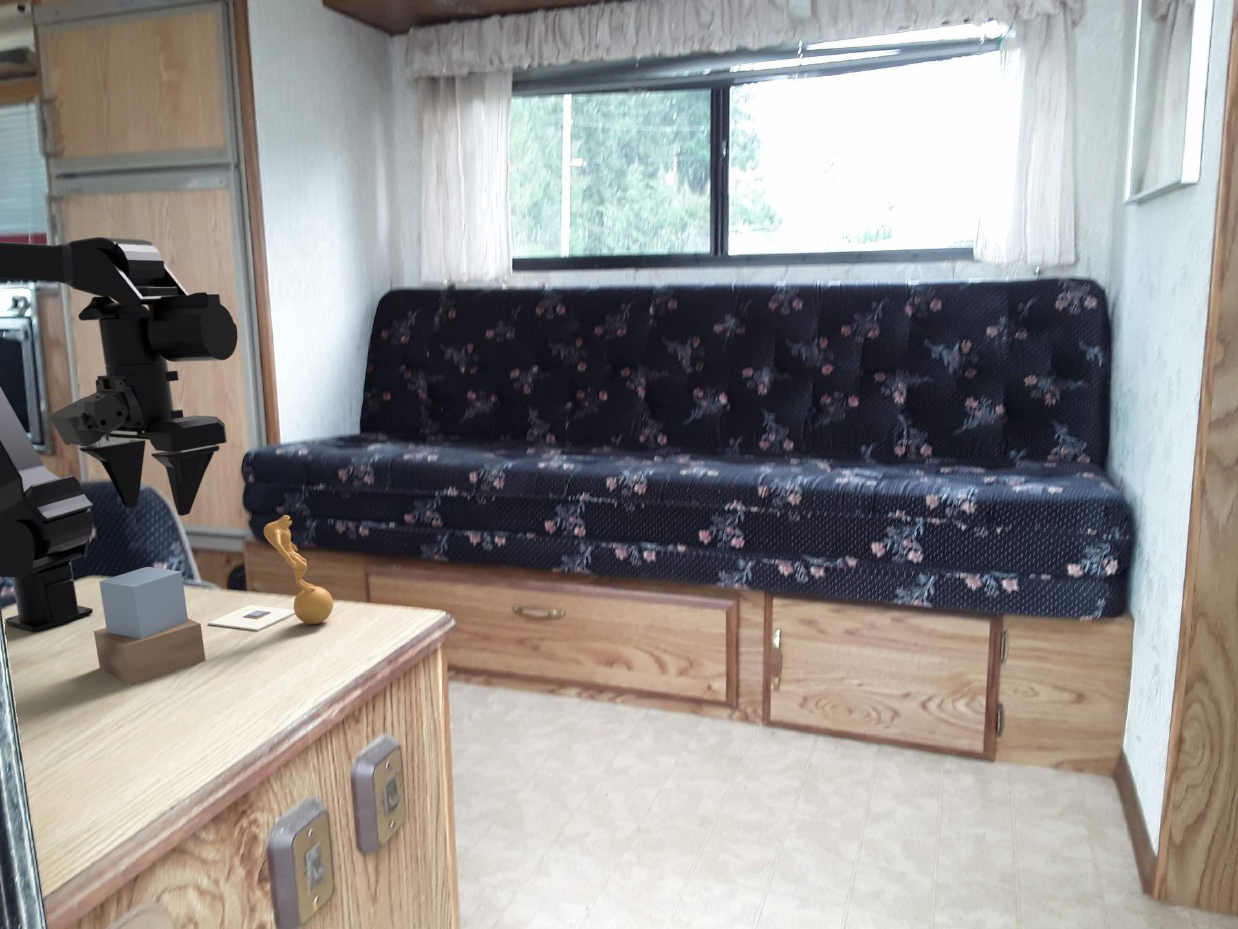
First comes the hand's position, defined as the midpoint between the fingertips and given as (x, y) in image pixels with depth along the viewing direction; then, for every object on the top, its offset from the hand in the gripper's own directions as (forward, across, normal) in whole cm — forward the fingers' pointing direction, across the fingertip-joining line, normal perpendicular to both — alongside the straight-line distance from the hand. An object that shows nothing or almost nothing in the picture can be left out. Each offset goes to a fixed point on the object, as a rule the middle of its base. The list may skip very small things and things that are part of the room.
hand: (157, 511), depth 99 cm
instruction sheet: (+12, +7, +5) cm, 15 cm away
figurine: (+13, +14, +6) cm, 20 cm away
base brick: (+13, +9, -8) cm, 17 cm away
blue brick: (+9, +9, -8) cm, 15 cm away
